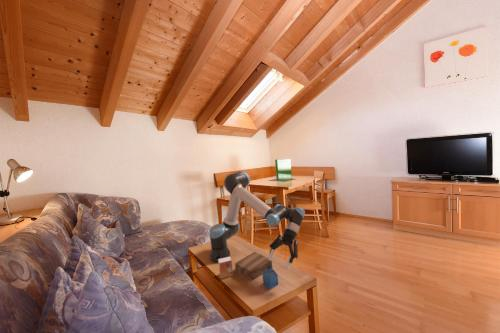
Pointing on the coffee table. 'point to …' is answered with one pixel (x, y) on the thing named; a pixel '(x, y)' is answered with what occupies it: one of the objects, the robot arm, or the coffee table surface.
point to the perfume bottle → (270, 277)
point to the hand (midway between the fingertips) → (277, 263)
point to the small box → (225, 267)
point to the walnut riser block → (252, 265)
